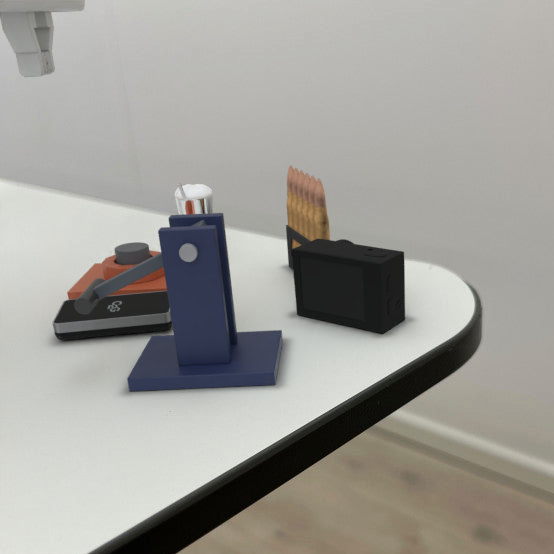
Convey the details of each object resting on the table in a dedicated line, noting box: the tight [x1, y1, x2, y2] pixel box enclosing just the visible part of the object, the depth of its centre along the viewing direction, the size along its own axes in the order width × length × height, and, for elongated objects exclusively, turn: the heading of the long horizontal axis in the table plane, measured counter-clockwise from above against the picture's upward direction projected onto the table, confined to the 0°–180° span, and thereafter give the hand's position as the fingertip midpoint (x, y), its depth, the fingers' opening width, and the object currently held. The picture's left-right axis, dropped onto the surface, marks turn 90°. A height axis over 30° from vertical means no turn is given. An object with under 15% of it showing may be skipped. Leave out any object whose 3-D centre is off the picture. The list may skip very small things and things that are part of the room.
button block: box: [66, 249, 167, 300], centre depth 84 cm, size 12×10×4 cm
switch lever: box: [74, 220, 207, 314], centre depth 63 cm, size 12×5×2 cm, turn 91°
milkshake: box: [174, 182, 214, 215], centre depth 94 cm, size 4×5×10 cm
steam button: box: [114, 241, 151, 265], centre depth 83 cm, size 4×4×2 cm
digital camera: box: [292, 238, 406, 335], centre depth 75 cm, size 10×5×7 cm, turn 56°
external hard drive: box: [52, 291, 173, 341], centre depth 76 cm, size 7×11×2 cm, turn 100°
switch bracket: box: [126, 212, 284, 392], centre depth 64 cm, size 12×9×13 cm
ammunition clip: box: [285, 165, 331, 271], centre depth 85 cm, size 11×2×12 cm, turn 24°
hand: (38, 75), depth 62 cm, fingers closed
